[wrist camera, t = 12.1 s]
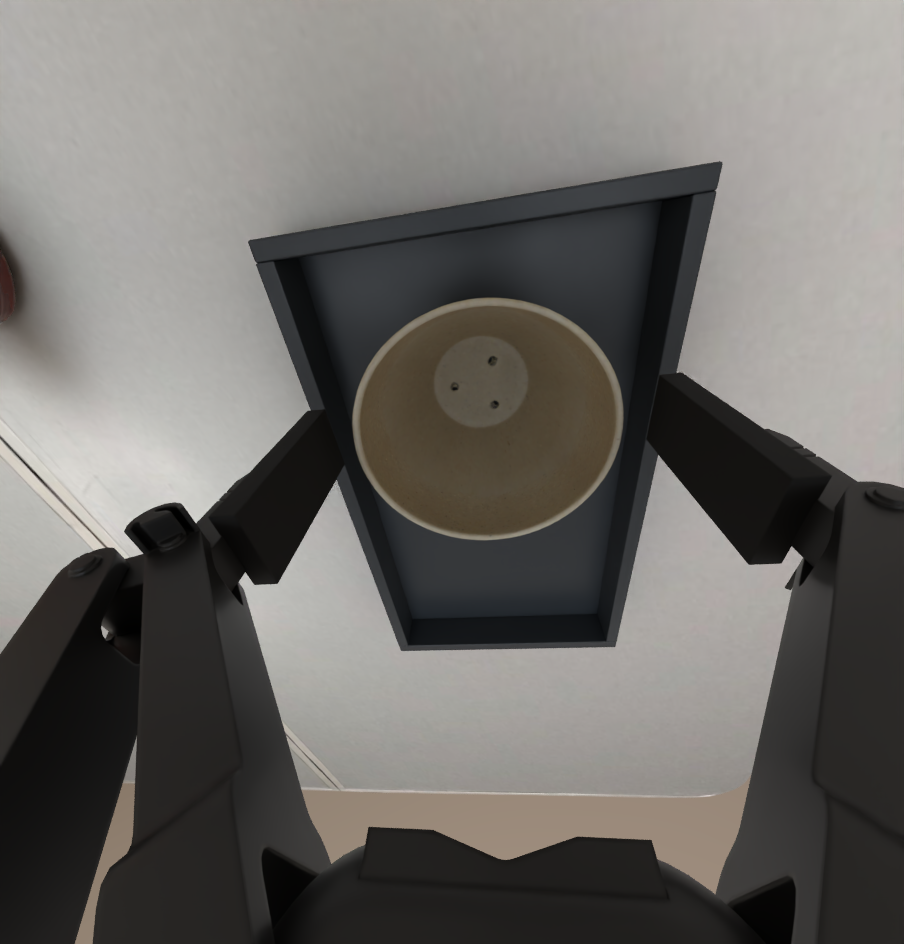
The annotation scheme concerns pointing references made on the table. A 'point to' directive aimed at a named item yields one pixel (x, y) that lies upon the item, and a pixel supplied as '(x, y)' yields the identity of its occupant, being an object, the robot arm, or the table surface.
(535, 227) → the tray
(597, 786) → the table surface
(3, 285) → the mug
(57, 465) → the table surface
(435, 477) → the flower pot
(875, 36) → the table surface
